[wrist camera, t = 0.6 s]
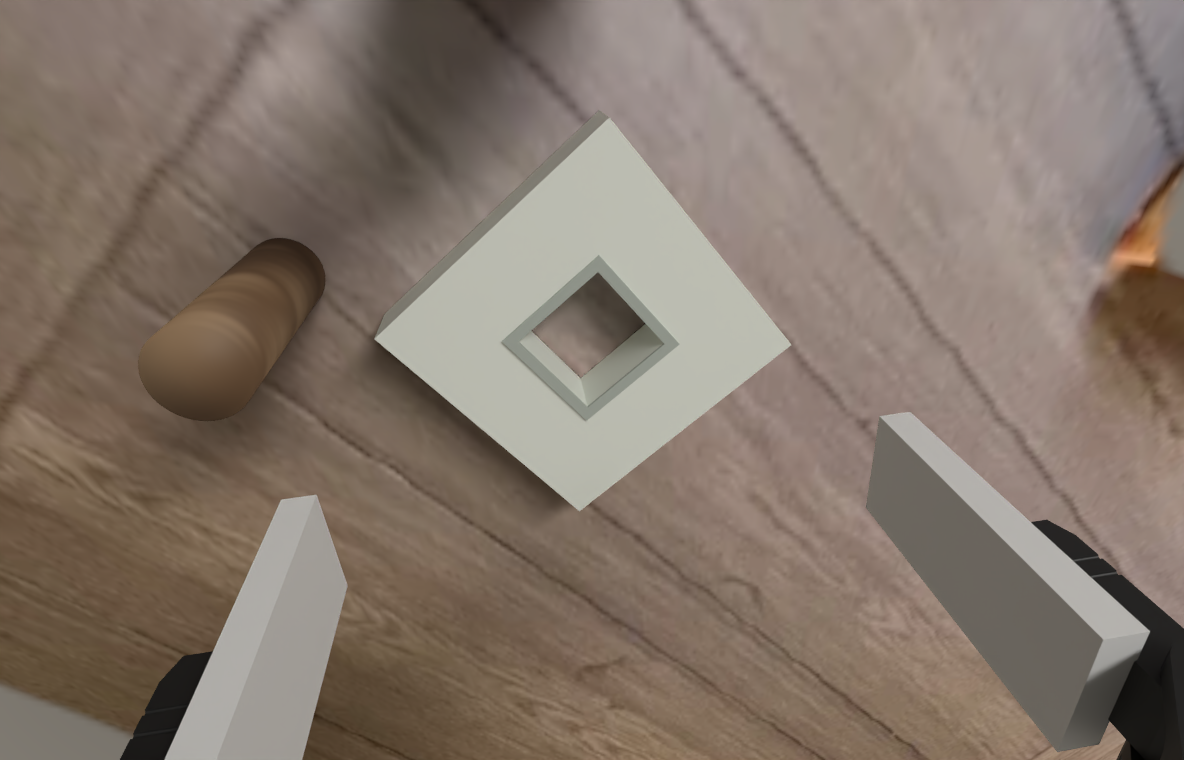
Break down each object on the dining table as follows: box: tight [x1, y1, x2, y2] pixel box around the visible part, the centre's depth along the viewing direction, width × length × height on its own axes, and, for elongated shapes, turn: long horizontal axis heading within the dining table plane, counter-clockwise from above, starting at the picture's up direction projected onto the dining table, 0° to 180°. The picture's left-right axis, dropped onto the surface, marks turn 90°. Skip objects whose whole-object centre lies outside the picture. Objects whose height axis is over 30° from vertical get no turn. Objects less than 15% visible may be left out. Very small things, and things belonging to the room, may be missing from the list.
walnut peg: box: [138, 238, 325, 421], centre depth 30 cm, size 4×4×12 cm
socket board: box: [375, 111, 791, 511], centre depth 37 cm, size 16×16×4 cm
